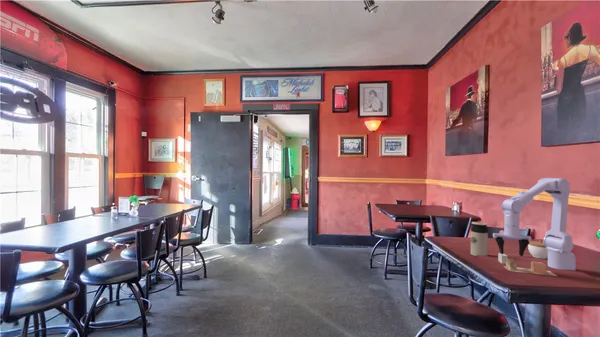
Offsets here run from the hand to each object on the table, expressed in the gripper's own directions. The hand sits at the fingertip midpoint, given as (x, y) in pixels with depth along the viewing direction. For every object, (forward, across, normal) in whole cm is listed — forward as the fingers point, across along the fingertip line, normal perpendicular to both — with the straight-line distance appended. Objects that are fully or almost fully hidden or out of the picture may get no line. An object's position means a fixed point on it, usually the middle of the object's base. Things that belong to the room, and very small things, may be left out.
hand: (511, 254), depth 133 cm
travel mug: (+8, +7, -24) cm, 26 cm away
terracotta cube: (+7, -11, 0) cm, 12 cm away
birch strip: (+8, -7, 0) cm, 10 cm away
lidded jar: (+8, -25, -34) cm, 43 cm away
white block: (+8, -7, -10) cm, 15 cm away
